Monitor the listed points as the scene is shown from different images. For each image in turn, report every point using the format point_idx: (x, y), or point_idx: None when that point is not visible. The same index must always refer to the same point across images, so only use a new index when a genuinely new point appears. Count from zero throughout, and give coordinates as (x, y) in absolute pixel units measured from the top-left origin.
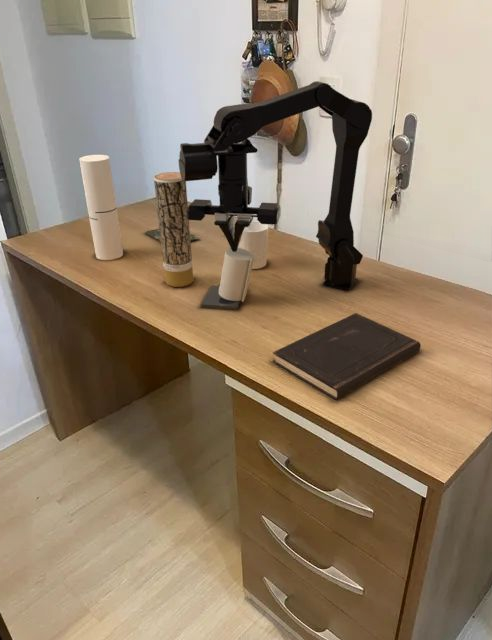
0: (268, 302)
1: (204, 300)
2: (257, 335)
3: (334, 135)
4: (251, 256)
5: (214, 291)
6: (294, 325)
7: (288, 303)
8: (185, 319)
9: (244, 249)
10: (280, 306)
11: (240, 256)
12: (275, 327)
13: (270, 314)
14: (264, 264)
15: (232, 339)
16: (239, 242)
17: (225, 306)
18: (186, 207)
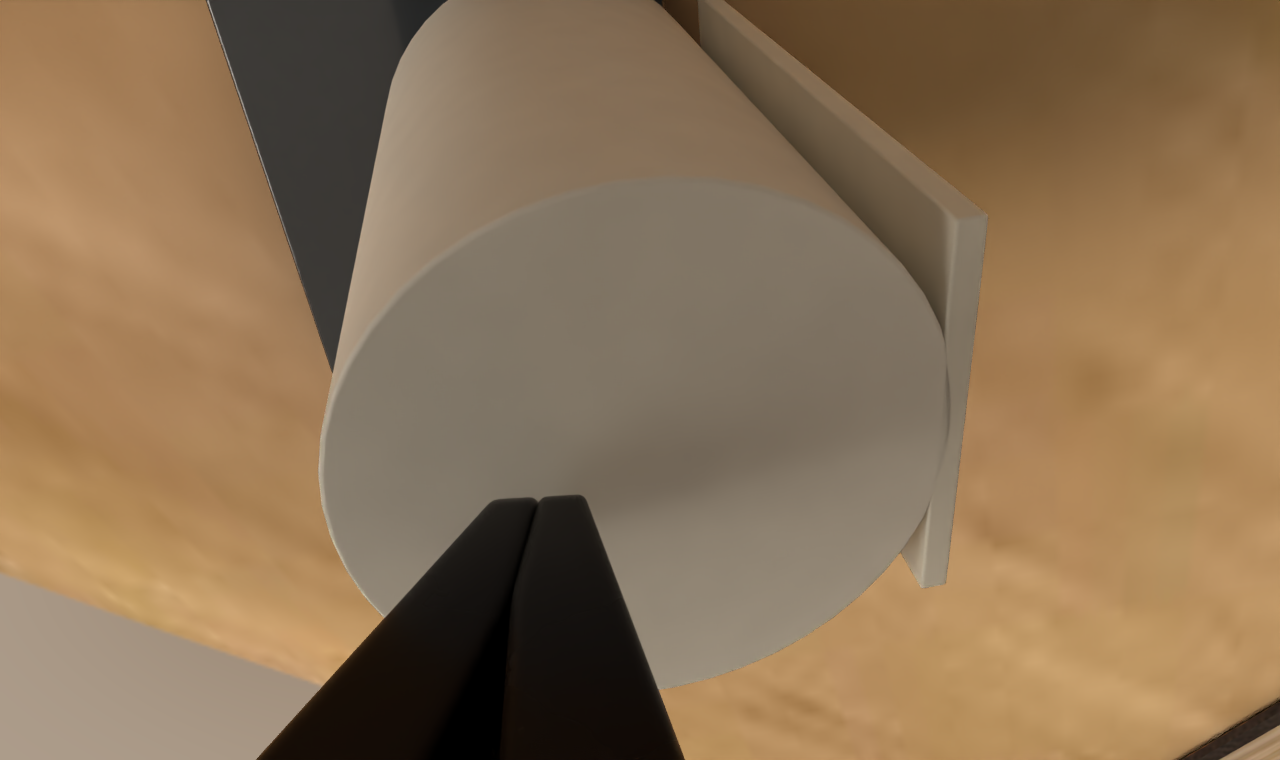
0: (1006, 86)
1: (320, 298)
2: (949, 627)
3: None
4: (925, 423)
5: (302, 61)
6: (1262, 463)
7: (1259, 53)
8: None
9: (692, 198)
10: (1152, 151)
11: (715, 575)
12: (1088, 517)
13: (1039, 335)
14: None
15: (781, 688)
16: (632, 629)
17: None
18: None
